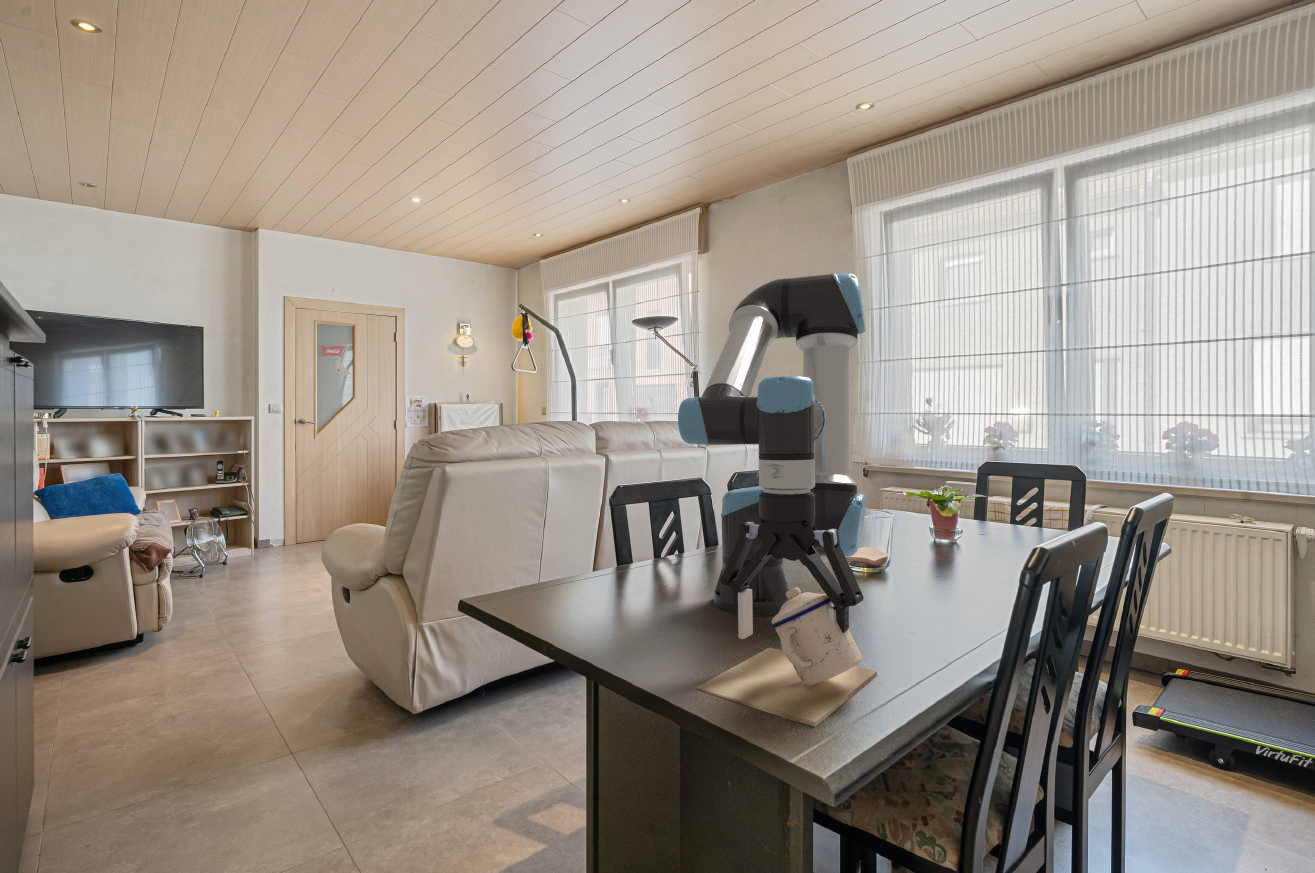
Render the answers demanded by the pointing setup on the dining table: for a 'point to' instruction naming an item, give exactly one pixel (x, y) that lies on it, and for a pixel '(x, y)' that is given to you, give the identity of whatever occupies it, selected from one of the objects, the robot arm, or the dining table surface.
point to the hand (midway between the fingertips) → (788, 645)
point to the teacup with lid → (814, 638)
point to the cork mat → (785, 688)
